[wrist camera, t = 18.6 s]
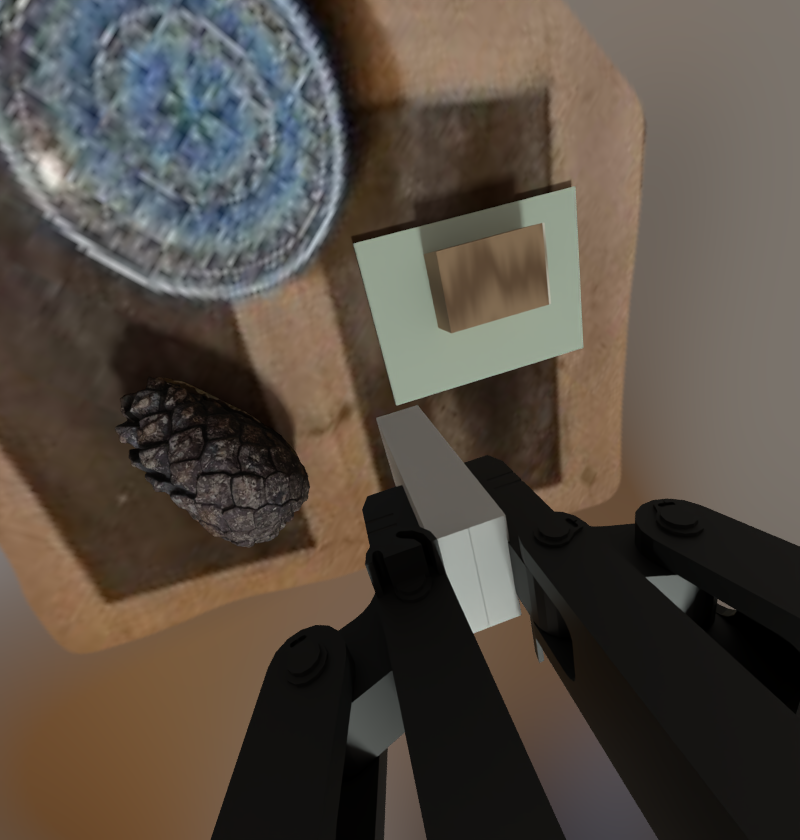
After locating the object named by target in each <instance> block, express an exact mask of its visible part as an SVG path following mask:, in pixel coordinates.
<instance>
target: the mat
mask: <svg viewBox="0 0 800 840" xmlns="http://www.w3.org/2000/svg"><path fill="white" fill-rule="evenodd" d="M540 223H545V236H546V248H547V260H548V272H549V284H550V296H551V304H549V305H546V306H542V307H539V308H536V309H532V310H529V311H526V312H522V313H519V314H515V315H512V316H509V317H505V318H502V319H498V320H495V321H492V322H488V323H485V324H482V325H478V326H475V327H471V328H468V329H465V330H461V331H458V332H454V333H449V332H447V331H445V330H442V329H440V328H438V324H437V319H436V314H435V309H434V304H433V299H432V294H431V290H430V285H429V280H428V275H427V270H426V265H425V260H424V255H423V254H426V253H430V252H434V251H437V250H441V249H445V248H448V247H452V246H456V245H459V244H463V243H467V242H471V241H474V240H478V239H482V238H485V237H489V236H493V235H496V234H500V233H504V232H508V231H511V230H515V229H519V228H523V227H527V226H531V225H535V224H540ZM353 246H354V250H355V253H356V257H357V261H358V265H359V268H360V272H361V276H362V280H363V284H364V287H365V291H366V295H367V299H368V302H369V306H370V310H371V314H372V317H373V321H374V325H375V329H376V333H377V336H378V340H379V344H380V348H381V351H382V355H383V359H384V363H385V366H386V370H387V374H388V378H389V382H390V385H391V389H392V393H393V397H394V400H395V404H396V405H400V404H403V403H406V402H409V401H413V400H416V399H419V398H422V397H426V396H429V395H432V394H435V393H438V392H442V391H445V390H448V389H451V388H455V387H458V386H461V385H464V384H468V383H471V382H474V381H477V380H481V379H484V378H487V377H490V376H494V375H497V374H500V373H503V372H506V371H510V370H513V369H516V368H519V367H523V366H526V365H529V364H532V363H536V362H539V361H542V360H545V359H549V358H552V357H555V356H558V355H561V354H565V353H568V352H571V351H574V350H578V349H581V348H583V332H582V312H581V292H580V271H579V251H578V231H577V210H576V190H575V186H574V187H570V188H566V189H562V190H559V191H555V192H551V193H547V194H543V195H539V196H535V197H532V198H528V199H524V200H520V201H516V202H512V203H508V204H504V205H501V206H497V207H493V208H489V209H485V210H481V211H477V212H474V213H470V214H466V215H462V216H458V217H454V218H450V219H447V220H443V221H439V222H435V223H431V224H427V225H423V226H419V227H416V228H412V229H408V230H404V231H400V232H396V233H392V234H389V235H385V236H381V237H377V238H373V239H369V240H365V241H361V242H358V243H354V244H353Z"/></svg>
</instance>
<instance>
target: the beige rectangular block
mask: <svg viewBox="0 0 800 840" xmlns="http://www.w3.org/2000/svg"><path fill="white" fill-rule="evenodd" d="M423 255H424V260H425V265H426V270H427V275H428V280H429V285H430V290H431V294H432V299H433V304H434V309H435V314H436V319H437V324H438V328H440V329H442V330H445V331H447V332H449V333H454V332H458V331H461V330H465V329H468V328H471V327H475V326H478V325H482V324H485V323H488V322H492V321H495V320H498V319H502V318H505V317H509V316H512V315H515V314H519V313H522V312H526V311H529V310H532V309H536V308H539V307H542V306H546V305H549V304H551V296H550V284H549V272H548V260H547V248H546V236H545V223H540V224H535V225H531V226H527V227H523V228H519V229H515V230H511V231H508V232H504V233H500V234H496V235H493V236H489V237H485V238H482V239H478V240H474V241H471V242H467V243H463V244H459V245H456V246H452V247H448V248H445V249H441V250H437V251H434V252H430V253H426V254H423Z"/></svg>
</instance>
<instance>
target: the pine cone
mask: <svg viewBox="0 0 800 840" xmlns="http://www.w3.org/2000/svg"><path fill="white" fill-rule="evenodd" d="M120 401H121V408H120V410H121V412H122V414H123V415H124V416H125V417H126V418H127V419H128V420H127V421H126V422H125V423H123V424H120V425H118V426H116V427H115V430H116V432H117V433H118V435H119V438H120V441H121V442H123V443H129V444H132V445H133V446H134V447H135V448H137V449H131V450H129V459H130V460H131V464H132V466H134V467H137V468H139V469H141V470H143V471H145V472H147V473H146V474H145V478H146V480H147V481H148V482H150V483H151V484H152V485H153V489H154V490H155V492H166V493H168V494H169V495H170V497H171V499H172V500H173V501H174V502H175V503H176V505H177V506H178V507H180V508H182V509H186V510H187V511H188V512H189V514H190V515H191V517H192V518H193V519H196V520H197V521H198V522H199V523H200V524H201V525H202V526H203V527H204V528H205V529H206V530H207V531H208V532H209V533H210V534H212V535H213V536H215V537H221V538H223V539H225V540H227V541H231V542H232V543H233V544H236V545H237V546H242V547H252V546H253V545H254V544H255V543H259V542H260V543H261V542H265V541H270V540H272V539H274V538H275V537H277V536H278V534H279V530H282V529H283V528H284V527H285V526H286V522H289V521H291V520H292V519H293V518H294V512H295V511H298V510H299V509H300V507H301V505H302V504H303V502H305V501H307V499H308V493H309V488H310V485H309V481H308V475H307V472H306V470H305V467H304V466H303V465H302V464H301V462H300V461H299V459H298V457H297V454H296V453H295V451H294V450H293V449H292V448H291V447H290V445H289V444H288V443H287V442H286V441H285V440H284V438H283V437H282V436H281V435H279V434H278V433H276V432H275V431H274V430H273V429H271V428H269V427H267V426H265V425H264V424H263V423H261V422H260V421H259V420H257V419H256V418H254V417H253V416H251V415H250V414H248V413H247V412H245V411H243V410H241V409H239V408H237V407H234V406H232V405H230V404H228V403H226V402H224V401H222V400H220V399H218V398H216V397H214V396H212V395H210V394H208V393H206V392H204V391H202V390H200V389H198V388H196V387H194V386H192V385H190V384H188V383H186V382H183V381H174V380H173V379H169V378H161V377H158V378H152V377H149V378H148V382H147V386H146V389H145V390H141V391H138V392H137V393H133V394H128V395H124V396H123V397H122V398H120Z"/></svg>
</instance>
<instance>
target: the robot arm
mask: <svg viewBox="0 0 800 840" xmlns="http://www.w3.org/2000/svg"><path fill="white" fill-rule="evenodd" d="M376 420H377V423H378V427H379V430H380V433H381V437H382V440H383V444H384V447H385V451H386V454H387V457H388V461H389V464H390V468H391V471H392V475H393V478H394V481H395V485H396V487H394V488H391V489H388V490H385V491H382V492H379V493H376V494H373V495H370V496H367V499H366V501H365V504H364V506H363V509H362V511H363V516H364V520H365V524H366V530H367V534H368V539H369V544H370V548H369V550H368V551H367V553H366V561H365V565H366V568H367V571H368V574H369V576H370V579H371V582H372V584H373V587H374V590H375V595H374V597H373V599H372V601H371V603H370V604H369V605H368V607H367V608H366V609H365V610H364V612H363V613H361V614H360V615H359V616H358V617H357V618H356V619H354V620H353V621H352V622H350V623H349V624H347V625H346V626H345V627H343V628H342V629H340V630H339V631H337V630H336V629H334V628H332V627H330V626H324V625H315V626H312V627H309V628H306V629H303V630H300V631H299V632H298V633H296V634H295V635H293V636H292V637H290V638H289V639H287V640H286V642H285V643H284V644H283V645H282V646H281V647H280V648H279V650H278V651H277V652H276V653H275V655H274V657H273V659H272V661H271V663H270V665H269V667H268V670H267V672H266V676H265V678H264V681H263V684H262V687H261V690H260V693H259V697H258V700H257V702H256V705H255V708H254V711H253V715H252V717H251V720H250V723H249V726H248V729H247V732H246V735H245V738H244V741H243V744H242V747H241V750H240V753H239V756H238V759H237V762H236V765H235V768H234V772H233V774H232V777H231V780H230V783H229V786H228V789H227V792H226V795H225V798H224V801H223V804H222V807H221V810H220V813H219V816H218V819H217V822H216V825H215V828H214V831H213V834H212V837H211V840H384V823H385V800H386V775H387V750H388V747H389V746H390V745H391V744H392V743H393V742H394V741H395V740H397V739H398V738H399V737H400V736H401V735H402V734H403V733H404V732H405V735H406V740H407V744H408V749H409V754H410V759H411V764H412V769H413V774H414V779H415V784H416V789H417V794H418V799H419V803H420V808H421V812H422V818H423V823H424V828H425V833H426V838H427V840H566V838H565V836H564V834H563V832H562V829H561V827H560V825H559V823H558V821H557V818H556V816H555V814H554V812H553V809H552V807H551V805H550V803H549V801H548V798H547V796H546V794H545V792H544V789H543V787H542V785H541V783H540V781H539V779H538V776H537V774H536V772H535V770H534V767H533V765H532V763H531V761H530V759H529V756H528V754H527V752H526V750H525V747H524V745H523V743H522V741H521V739H520V736H519V734H518V732H517V730H516V727H515V725H514V723H513V721H512V718H511V716H510V714H509V712H508V710H507V707H506V705H505V703H504V701H503V698H502V696H501V694H500V692H499V690H498V688H497V686H496V683H495V681H494V679H493V676H492V674H491V672H490V670H489V667H488V665H487V663H486V661H485V659H484V656H483V654H482V652H481V650H480V647H479V645H478V643H477V641H476V639H475V636H474V634H473V633H475V632H477V631H481V630H483V629H486V628H488V627H491V626H494V625H496V624H499V623H501V622H504V621H507V620H509V619H512V618H515V617H517V616H520V615H521V609H520V603H519V599H520V600H521V602H522V604H523V605H524V607H525V608H526V610H527V611H528V613H529V615H530V619H531V626H532V632H533V639H534V646H535V652H536V655H537V658H538V660H539V662H542V661H544V656H543V651H544V652H545V654H546V656H547V658H548V659H549V661H550V662H551V664H552V665H553V667H554V669H555V671H556V672H557V674H558V675H559V677H560V679H561V680H562V682H563V684H564V685H565V687H566V689H567V690H568V692H569V693H570V695H571V697H572V698H573V700H574V702H575V703H576V705H577V707H578V708H579V710H580V712H581V713H582V715H583V717H584V718H585V720H586V721H587V723H588V725H589V726H590V728H591V730H592V731H593V733H594V734H595V736H596V738H597V739H598V741H599V743H600V744H601V746H602V748H603V749H604V751H605V752H606V754H607V756H608V757H609V759H610V761H611V762H612V764H613V766H614V767H615V769H616V771H617V772H618V774H619V776H620V777H621V779H622V780H623V782H624V784H625V785H626V787H627V789H628V790H629V792H630V794H631V795H632V797H633V798H634V800H635V802H636V803H637V805H638V807H639V808H640V810H641V812H642V813H643V815H644V817H645V818H646V820H647V822H648V823H649V825H650V826H651V828H652V830H653V831H654V833H655V835H656V836H657V838H658V839H659V840H800V546H797V545H795V544H792V543H790V542H787V541H785V540H783V539H780V538H778V537H776V536H773V535H771V534H768V533H766V532H763V531H761V530H759V529H756V528H754V527H752V526H749V525H747V524H745V523H742V522H740V521H737V520H735V519H733V518H730V517H728V516H725V515H723V514H721V513H718V512H716V511H713V510H711V509H709V508H706V507H704V506H701V505H698V504H695V503H692V502H688V501H685V500H676V499H660V500H652V501H650V502H647V503H645V504H643V505H641V506H640V507H639V509H638V510H637V511H636V513H635V514H636V515H635V524H625V525H614V526H601V527H600V526H599V527H591V526H589V525H588V524H587V523H586V522H584V521H582V520H581V519H579V518H578V517H576V516H574V515H571V514H567V513H564V512H554V511H553V510H552V509H551V508H550V507H549V506H548V505H547V504H546V503H545V502H544V501H543V500H542V499H541V498H540V497H539V496H538V495H537V494H536V493H535V492H534V491H533V490H532V489H531V488H530V487H529V486H528V485H526V484H525V483H524V482H523V481H521V479H520V478H519V477H518V476H517V475H516V474H515V473H513V471H512V470H511V469H510V468H509V467H508V466H507V465H506V464H505V463H504V462H503V461H501V460H498V459H496V458H493V457H491V456H488V455H486V456H483V457H480V458H477V459H474V460H471V461H468V462H465V463H463V461H462V460H461V459H460V458H459V456H458V455H457V454H456V453H455V451H454V450H453V449H452V448H451V446H450V445H449V444H448V443H447V441H446V440H445V439H444V438H443V436H442V435H441V434H440V433H439V431H438V430H437V429H436V428H435V426H434V425H433V424H432V423H431V421H430V420H429V419H428V418H427V416H426V415H425V414H424V413H423V412H422V410H421V409H420V408H419V407H418V405H417V406H413V407H410V408H407V409H404V410H401V411H397V412H394V413H391V414H388V415H384V416H381V417H378V418H376ZM717 599H719V600H721V601H722V602H724V603H726V604H728V605H729V606H731V607H733V608H734V609H736V610H732V609H728V608H725V607H723V606H721V605H719V604H717Z"/></svg>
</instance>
